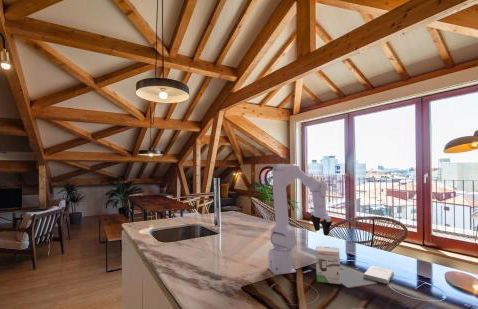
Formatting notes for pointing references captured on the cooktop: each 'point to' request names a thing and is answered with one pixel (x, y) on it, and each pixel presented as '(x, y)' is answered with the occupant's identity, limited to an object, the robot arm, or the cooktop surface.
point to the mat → (354, 279)
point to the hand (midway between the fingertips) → (321, 232)
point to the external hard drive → (378, 274)
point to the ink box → (328, 265)
